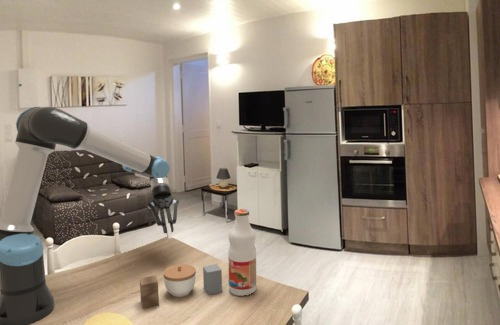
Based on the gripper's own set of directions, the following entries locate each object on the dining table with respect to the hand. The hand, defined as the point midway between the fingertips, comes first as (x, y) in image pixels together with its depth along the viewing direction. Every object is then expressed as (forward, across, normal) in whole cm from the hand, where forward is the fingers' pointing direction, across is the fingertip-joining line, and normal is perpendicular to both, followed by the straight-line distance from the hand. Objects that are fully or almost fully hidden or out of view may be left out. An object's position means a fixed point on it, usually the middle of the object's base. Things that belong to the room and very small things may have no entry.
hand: (170, 239), depth 137 cm
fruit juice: (+28, -19, +11) cm, 35 cm away
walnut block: (+24, +12, +8) cm, 28 cm away
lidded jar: (+23, +1, +6) cm, 23 cm away
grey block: (+25, -9, +8) cm, 28 cm away
